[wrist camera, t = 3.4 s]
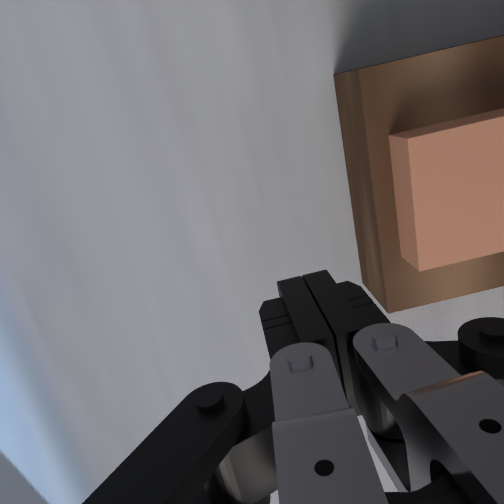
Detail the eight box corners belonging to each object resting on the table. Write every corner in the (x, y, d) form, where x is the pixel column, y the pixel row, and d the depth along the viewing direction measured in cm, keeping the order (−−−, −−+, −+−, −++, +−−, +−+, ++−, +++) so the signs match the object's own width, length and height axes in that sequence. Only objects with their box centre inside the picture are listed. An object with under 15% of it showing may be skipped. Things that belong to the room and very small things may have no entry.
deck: (596, 13, 22) (673, -4, 19) (584, 230, 27) (646, 251, 23) (333, 74, 22) (358, 69, 18) (362, 283, 26) (388, 313, 23)
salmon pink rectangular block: (559, 94, 20) (596, 94, 18) (556, 219, 22) (589, 231, 20) (388, 135, 20) (407, 138, 18) (401, 256, 22) (419, 271, 20)
